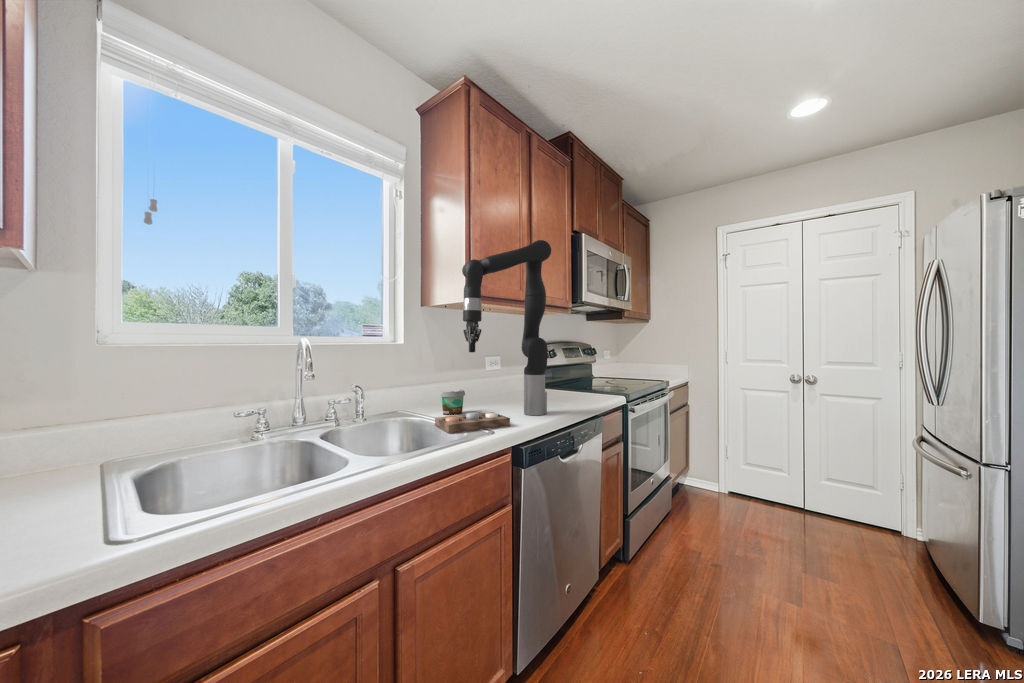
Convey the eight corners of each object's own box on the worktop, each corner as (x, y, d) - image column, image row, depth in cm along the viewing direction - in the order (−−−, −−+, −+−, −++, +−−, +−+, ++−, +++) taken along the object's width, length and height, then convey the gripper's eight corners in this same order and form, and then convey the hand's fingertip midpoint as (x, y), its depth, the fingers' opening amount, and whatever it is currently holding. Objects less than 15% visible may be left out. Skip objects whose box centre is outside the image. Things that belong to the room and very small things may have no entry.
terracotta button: (455, 424, 141) (455, 416, 141) (460, 426, 137) (460, 418, 137) (443, 425, 138) (443, 417, 138) (448, 428, 134) (448, 419, 134)
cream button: (494, 420, 149) (494, 412, 149) (500, 422, 145) (500, 414, 145) (483, 421, 146) (483, 413, 146) (488, 423, 142) (488, 415, 142)
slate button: (475, 420, 145) (475, 412, 145) (481, 422, 141) (481, 414, 141) (463, 421, 142) (463, 413, 142) (469, 423, 138) (469, 415, 138)
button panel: (492, 419, 154) (492, 411, 154) (509, 426, 142) (509, 418, 142) (434, 425, 142) (435, 417, 142) (448, 433, 129) (448, 424, 129)
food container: (450, 417, 158) (450, 392, 158) (440, 415, 162) (440, 391, 162) (471, 412, 168) (471, 390, 168) (461, 411, 172) (461, 388, 172)
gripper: (487, 309, 152) (487, 352, 152) (473, 311, 163) (473, 351, 163) (470, 308, 148) (470, 352, 148) (457, 310, 159) (457, 352, 159)
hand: (472, 352), depth 155 cm, fingers closed
